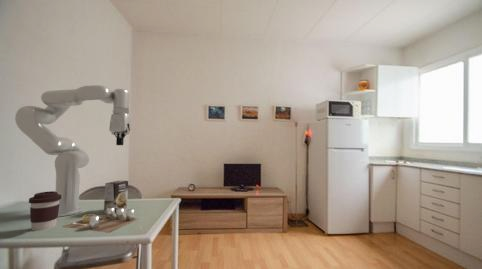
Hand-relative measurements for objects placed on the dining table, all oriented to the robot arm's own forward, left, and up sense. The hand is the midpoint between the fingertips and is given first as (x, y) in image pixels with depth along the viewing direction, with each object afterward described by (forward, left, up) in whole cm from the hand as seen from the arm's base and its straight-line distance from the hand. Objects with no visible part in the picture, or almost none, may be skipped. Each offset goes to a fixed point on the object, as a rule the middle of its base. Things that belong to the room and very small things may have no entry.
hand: (119, 145), depth 115 cm
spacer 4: (+20, -13, -34) cm, 42 cm away
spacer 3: (+14, -13, -34) cm, 39 cm away
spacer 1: (+13, -25, -34) cm, 44 cm away
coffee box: (+3, -4, -35) cm, 36 cm away
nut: (+3, -19, -34) cm, 39 cm away
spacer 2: (+9, -13, -34) cm, 37 cm away
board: (+11, -19, -35) cm, 41 cm away
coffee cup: (-8, -29, -35) cm, 46 cm away
